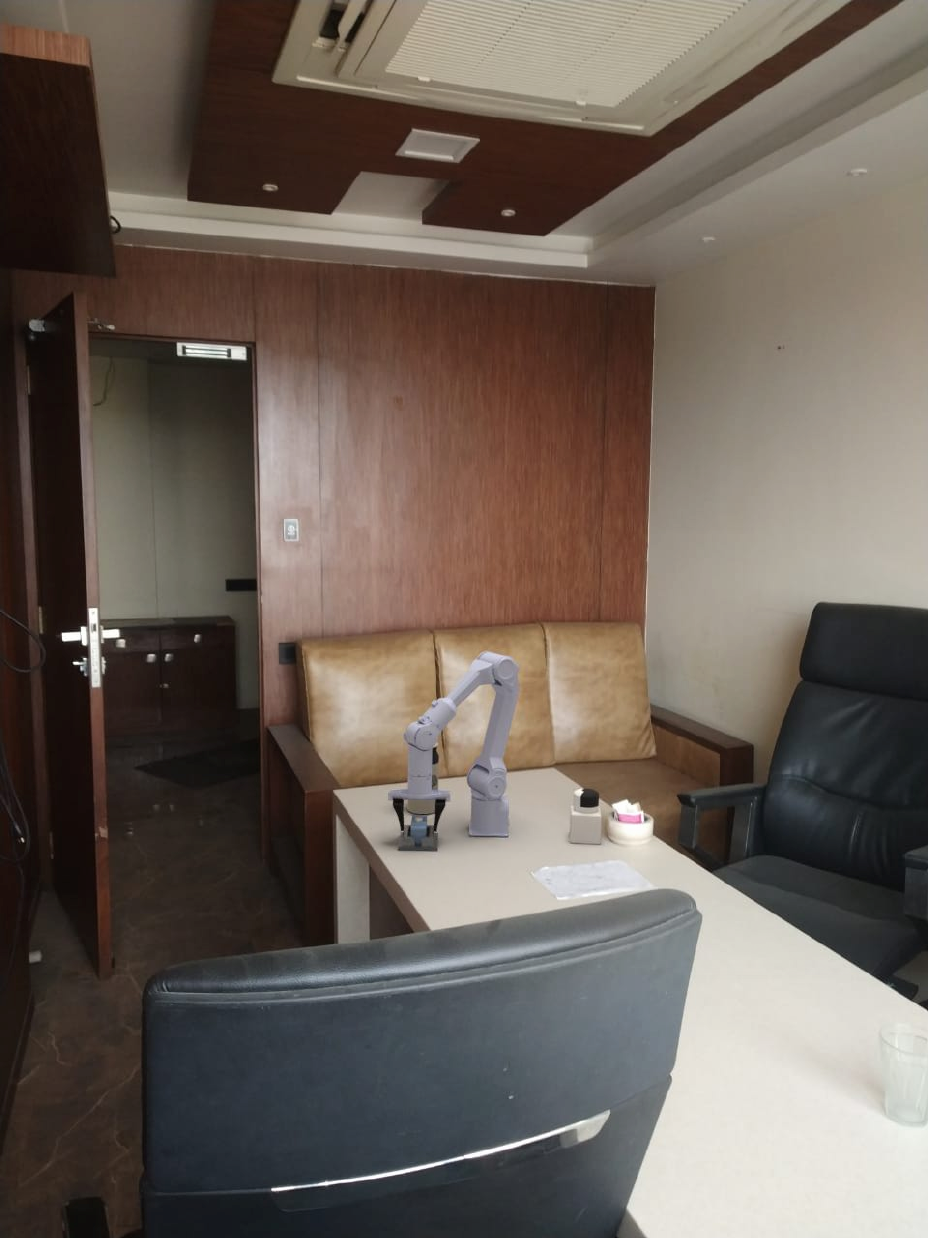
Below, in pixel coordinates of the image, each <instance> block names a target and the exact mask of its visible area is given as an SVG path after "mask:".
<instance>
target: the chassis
mask: <svg viewBox="0 0 928 1238" xmlns="http://www.w3.org/2000/svg"><path fill="white" fill-rule="evenodd" d="M438 844H439V832H434V824H432V825H430V824H427V837H422V838H421V844H415V837H411V824H404V831H400V835H399V841H398V845H397V846H398V847H397V850H398V852H399V851H403V852H405V851H406V852H407V851H408V852H413V851H414V852H438Z"/></svg>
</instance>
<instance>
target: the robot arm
mask: <svg viewBox="0 0 928 1238" xmlns="http://www.w3.org/2000/svg"><path fill="white" fill-rule="evenodd" d="M519 670H520V666H519V665H518V664H517V662H516V660H515V659H513V657H512V656H509V655H503V654H499V653H495V652H493V651H489V650H486V651H483V652H481V653H480V654H479V655H478V656H477V657H476V658H475V659H474V660H473V661H472V662H471V665H470V666H469V669H468V670H467V671H466V673H465V674H464V675H463V676H462V678H461V679H460V680H459V681H458V682H457V683H456V685H455V686H454V688H452V690H451V691H450V692H449V694H447V696H446V697H439V698H437V699H436V700H435V699H434V700H432V702H430V705H431V706H430V707H429V708H428V709H427V710H426V711H425V712H424V713H423V714H422V715H421V716H419V717H418V718H417V721H413V722H411V723H410V724H409V725H408V726H407V727H406V729H405V733H403V739H404V741H405V742H406V744H407V784H406V785H407V786H406V787H407V788H403V789H389V790H388V796H387V797H388V798H387V800H388V801H392V807H393V809H394V811H395V814H396V816H397V819H398V821H399V826H400V832H404V826H405V801H408V800H435V812H434V818H433V819H434V820H433V821H434V823H433V825H434V833H438V832H437V831H438V825H439V821H440V818H441V816H442V814H443V811H444V810H445V807H446V803H447V802H451V791H449V790H439V789H438V790H433V789H432V747H433V746H435V745H436V743H438V740H439V735H440V734H441V732H442V731H443V730H444V728H446V727H447V726H448V724H450V722H451V721H452V720H453V719H454V718H455V717H456V716H457V707H459V706H460V705H461V704H462V703H463V702H464V701H465V700H466V699H467V698H468V697H469V696H470V695H471V694H472V693H473V692H475V690H476V689H478V688H479V687H480V686H484V685H491V687H492V689H493V690H494V692H495V695H494V700H493V704H492V707H491V712H490V717H489V720H488V724H487V729H486V733H485V737H484V740H483V745H482V749H481V751H480V752H481V753H480V754H479V755H478V756H477V757H476V758H474V759H473V762H472V766H471V767H470V769H469V770H468V772H467V774H466V784H467V786H468V787H469V788H470V793H471V795H470V797H471V798H470V801H471V802H470V807H471V808H470V822H469V823H468V835H469V836H471V837H472V836H474V837H509V827H510V818H509V817H510V800H509V799H510V798H509V796H507V795H504V793H505V792H506V790H507V786H508V785H507V772H508V770H507V766H506V764H505V763H504V757H505V752H506V749H507V748H506V747H507V743H508V739H509V736H510V731H511V727H512V724H513V723H512V722H513V719H514V715H515V711H516V706H517V703H518V698H519V694H520V683H519V682H520V681H519V672H520V671H519Z"/></svg>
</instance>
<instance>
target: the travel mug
mask: <svg viewBox="0 0 928 1238" xmlns="http://www.w3.org/2000/svg"><path fill="white" fill-rule="evenodd" d="M438 746H439V743H438V742H437V743H436V745H435V746H433V747H432V789H433V790H439V769H440V768H439V766H440V765H439V762H440V761H439V758H440V755H439V754H438V750H437V748H438ZM407 811H408V812H410V813H411V814H413V815H420V814H421V815H422V814H426V815H431V814H435V800H407Z"/></svg>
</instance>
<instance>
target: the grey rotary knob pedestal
mask: <svg viewBox="0 0 928 1238" xmlns="http://www.w3.org/2000/svg"><path fill="white" fill-rule="evenodd" d="M599 805H600V793H599V792H598V791H596V790H594V789H592V788H579V789H576V790H575V791H574V792H573V805H572V804H571V805H570V817H569V818H570V819H569V842H570V844H582V845H583V844H585V845H601V843H602V842H601V839H602V838H601V837H602V819H603V818H602V812H601V811H602V810H601V807H600V806H599Z"/></svg>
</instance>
